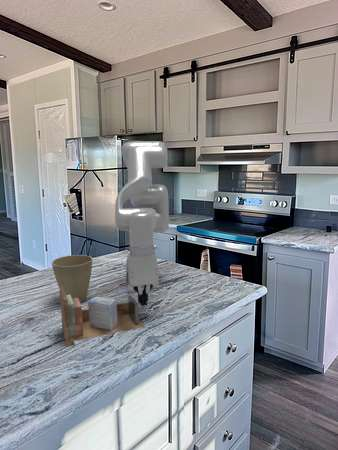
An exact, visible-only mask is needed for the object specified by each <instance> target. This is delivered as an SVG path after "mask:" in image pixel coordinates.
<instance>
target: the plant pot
mask: <svg viewBox="0 0 338 450" xmlns="http://www.w3.org/2000/svg"><path fill="white" fill-rule="evenodd" d="M51 267H52V270H53V274H54V278H55V280H56V283H57V286H58V288H59V286H63V287H64V290H65V293H66V295H71V298H78V299H79V301H80V303H82V302H84V301H85V300H86V297H87V295H88V291H89V287H90V283H91V276H92V269H93V257H92V256H90V255H85V254H84V255H83V254H73V255H72V254H71V255H65V256H60V257H57V258H55V259H53V260H52V261H51ZM59 290H60V288H59Z"/></svg>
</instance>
